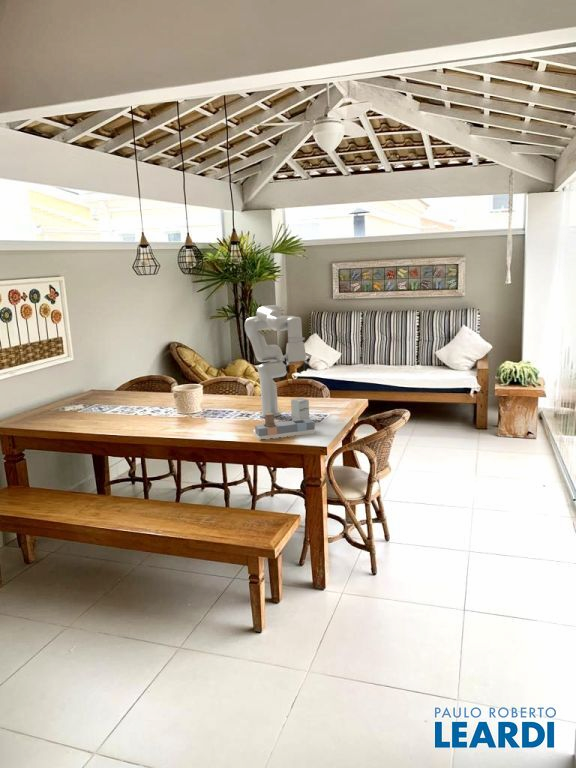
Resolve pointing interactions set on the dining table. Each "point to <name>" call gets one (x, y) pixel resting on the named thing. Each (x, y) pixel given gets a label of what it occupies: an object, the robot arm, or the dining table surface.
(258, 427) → the port board
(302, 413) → the supplement box
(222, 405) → the dining table surface
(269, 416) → the walnut plug
